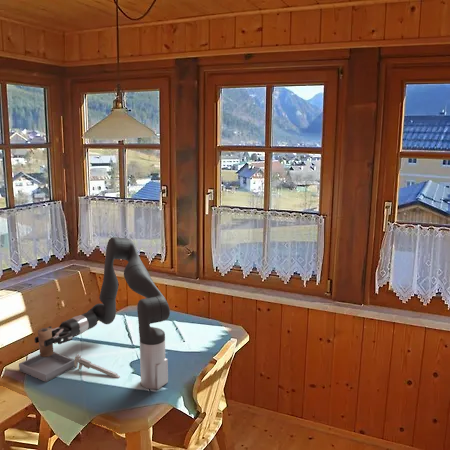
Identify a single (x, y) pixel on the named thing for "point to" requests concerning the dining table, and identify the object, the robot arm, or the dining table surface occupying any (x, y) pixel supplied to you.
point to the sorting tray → (47, 366)
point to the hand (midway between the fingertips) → (40, 342)
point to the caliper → (92, 366)
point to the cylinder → (43, 336)
